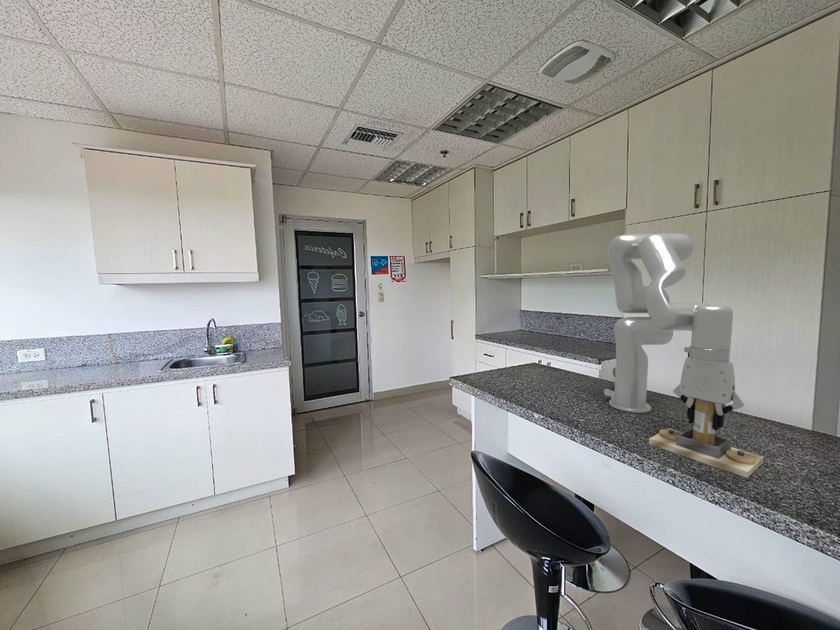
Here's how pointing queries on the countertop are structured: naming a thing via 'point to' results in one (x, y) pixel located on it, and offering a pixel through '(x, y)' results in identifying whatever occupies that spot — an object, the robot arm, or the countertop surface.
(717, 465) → the board
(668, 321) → the robot arm
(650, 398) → the countertop surface
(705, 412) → the sprinkles bottle
